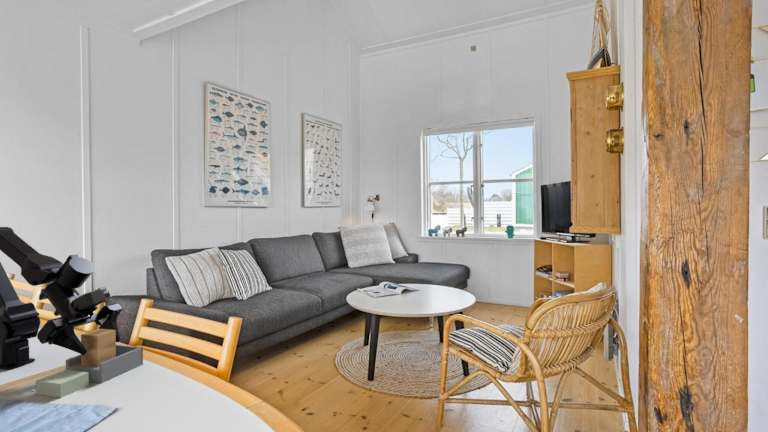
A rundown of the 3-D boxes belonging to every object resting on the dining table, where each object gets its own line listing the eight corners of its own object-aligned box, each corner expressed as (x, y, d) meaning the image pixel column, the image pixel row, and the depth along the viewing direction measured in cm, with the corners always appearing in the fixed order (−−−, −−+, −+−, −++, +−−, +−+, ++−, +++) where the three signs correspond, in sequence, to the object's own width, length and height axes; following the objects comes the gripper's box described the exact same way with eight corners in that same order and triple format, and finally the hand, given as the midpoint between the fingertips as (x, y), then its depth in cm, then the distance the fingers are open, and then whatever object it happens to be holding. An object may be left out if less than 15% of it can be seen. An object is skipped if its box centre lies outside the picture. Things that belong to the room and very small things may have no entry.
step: (35, 394, 90) (35, 380, 90) (64, 382, 97) (64, 369, 97) (60, 397, 89) (60, 384, 89) (88, 385, 95) (88, 372, 95)
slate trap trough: (65, 378, 99) (65, 359, 99) (109, 360, 111) (109, 343, 110) (102, 382, 96) (101, 364, 96) (142, 364, 108) (142, 347, 108)
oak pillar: (81, 364, 100) (81, 334, 100) (99, 357, 105) (99, 328, 104) (97, 366, 98) (97, 335, 98) (115, 359, 103) (115, 330, 103)
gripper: (46, 285, 93) (85, 337, 91) (116, 273, 111) (151, 316, 109) (20, 318, 95) (57, 369, 93) (94, 300, 113) (127, 343, 111)
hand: (102, 347), depth 101 cm, fingers open, 9 cm apart
